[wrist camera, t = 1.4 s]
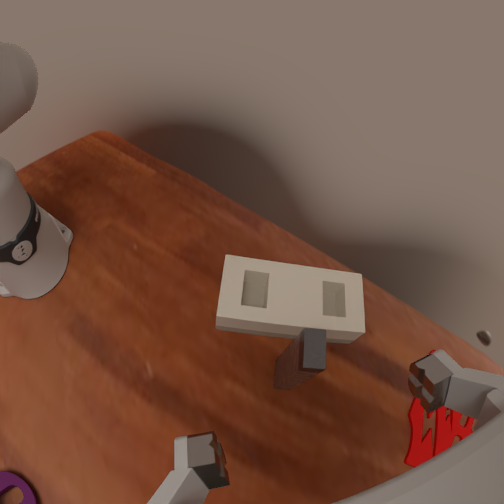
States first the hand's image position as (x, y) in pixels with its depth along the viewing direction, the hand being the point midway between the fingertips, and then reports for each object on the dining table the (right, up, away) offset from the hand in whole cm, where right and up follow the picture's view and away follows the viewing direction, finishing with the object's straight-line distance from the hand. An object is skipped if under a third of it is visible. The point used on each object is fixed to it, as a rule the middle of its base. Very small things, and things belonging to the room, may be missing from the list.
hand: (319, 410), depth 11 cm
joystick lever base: (+3, -3, +41) cm, 42 cm away
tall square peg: (+2, -12, +36) cm, 38 cm away
